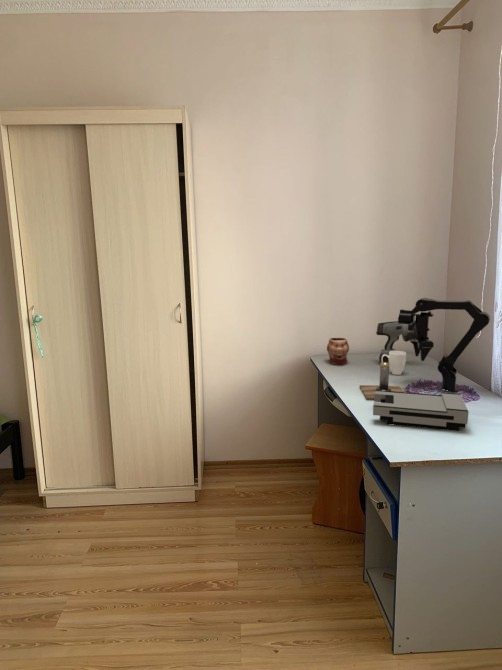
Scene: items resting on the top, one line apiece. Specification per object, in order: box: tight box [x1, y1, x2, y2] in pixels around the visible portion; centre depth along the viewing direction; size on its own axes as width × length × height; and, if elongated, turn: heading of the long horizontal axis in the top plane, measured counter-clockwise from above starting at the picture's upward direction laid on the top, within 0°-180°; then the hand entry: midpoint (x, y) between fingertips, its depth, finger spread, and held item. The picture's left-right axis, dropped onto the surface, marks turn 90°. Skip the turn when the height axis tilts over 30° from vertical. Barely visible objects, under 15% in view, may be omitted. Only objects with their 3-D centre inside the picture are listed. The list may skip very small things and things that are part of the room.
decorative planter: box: [326, 337, 350, 365], centre depth 261 cm, size 20×12×14 cm, turn 2°
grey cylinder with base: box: [376, 362, 391, 391], centre depth 204 cm, size 6×6×13 cm
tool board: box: [359, 384, 405, 401], centre depth 205 cm, size 18×18×1 cm
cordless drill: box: [375, 320, 415, 367], centre depth 254 cm, size 8×24×25 cm, turn 78°
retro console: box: [372, 390, 469, 432], centre depth 176 cm, size 21×32×8 cm, turn 73°
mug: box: [381, 350, 407, 376], centre depth 237 cm, size 12×8×11 cm
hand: (419, 358), depth 216 cm, fingers open, 9 cm apart
